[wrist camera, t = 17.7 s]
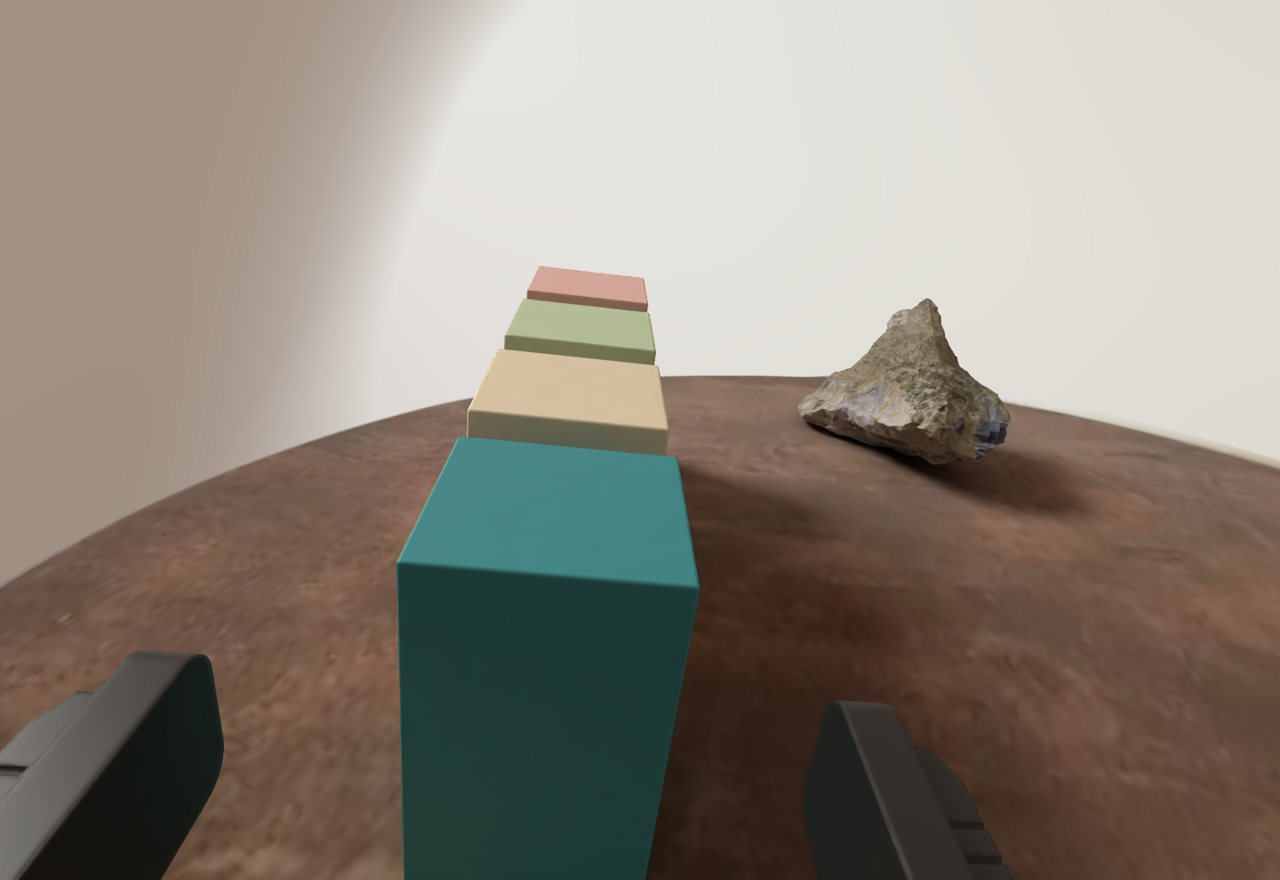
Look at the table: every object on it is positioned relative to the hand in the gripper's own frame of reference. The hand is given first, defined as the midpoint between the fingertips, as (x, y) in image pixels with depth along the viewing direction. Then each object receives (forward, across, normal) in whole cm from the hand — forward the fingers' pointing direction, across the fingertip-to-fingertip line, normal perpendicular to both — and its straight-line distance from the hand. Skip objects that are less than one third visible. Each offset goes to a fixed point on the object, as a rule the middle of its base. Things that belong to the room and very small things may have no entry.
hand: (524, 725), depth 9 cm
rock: (+30, -18, +9) cm, 36 cm away
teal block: (+5, 0, +8) cm, 10 cm away
